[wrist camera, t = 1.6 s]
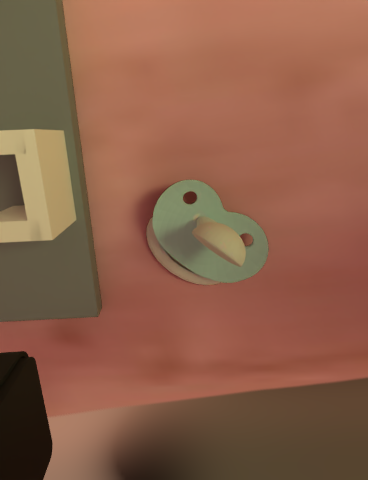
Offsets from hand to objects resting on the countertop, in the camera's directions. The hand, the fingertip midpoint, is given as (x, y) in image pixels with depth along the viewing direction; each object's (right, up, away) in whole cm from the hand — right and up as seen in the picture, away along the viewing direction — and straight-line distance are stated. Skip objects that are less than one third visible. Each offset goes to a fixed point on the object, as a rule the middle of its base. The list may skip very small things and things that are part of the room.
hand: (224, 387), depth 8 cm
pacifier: (0, +4, +13) cm, 14 cm away
